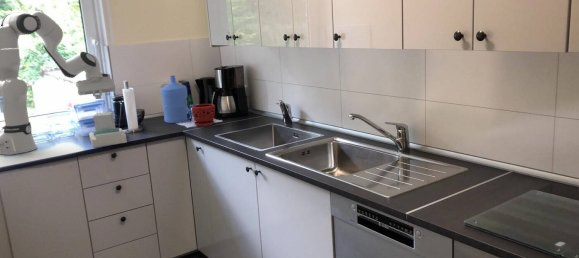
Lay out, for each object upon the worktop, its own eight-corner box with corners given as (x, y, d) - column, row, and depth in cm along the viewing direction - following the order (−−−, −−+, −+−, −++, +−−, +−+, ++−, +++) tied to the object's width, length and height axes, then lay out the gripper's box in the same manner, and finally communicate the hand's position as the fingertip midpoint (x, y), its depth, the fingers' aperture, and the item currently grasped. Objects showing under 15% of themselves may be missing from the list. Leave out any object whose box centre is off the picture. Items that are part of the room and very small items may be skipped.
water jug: (172, 124, 317) (167, 78, 310) (159, 121, 328) (154, 76, 322) (195, 119, 327) (190, 74, 320) (181, 117, 338) (176, 73, 332)
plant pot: (217, 126, 305) (215, 105, 302) (194, 128, 302) (192, 108, 299) (215, 121, 317) (213, 102, 314) (193, 124, 314) (190, 104, 311)
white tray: (90, 139, 290) (88, 129, 289) (121, 135, 297) (120, 124, 296) (93, 147, 273) (91, 136, 271) (126, 142, 279) (125, 131, 278)
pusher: (96, 143, 279) (95, 131, 278) (120, 140, 284) (118, 127, 282) (97, 145, 276) (95, 132, 274) (121, 141, 280) (119, 129, 279)
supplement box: (117, 137, 291) (113, 111, 288) (114, 141, 283) (110, 114, 279) (100, 139, 290) (96, 112, 287) (97, 143, 282) (92, 115, 278)
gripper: (74, 77, 297) (78, 97, 291) (112, 73, 305) (116, 92, 299) (75, 84, 302) (79, 103, 296) (112, 80, 310) (116, 99, 304)
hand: (98, 98), depth 297 cm, fingers closed
